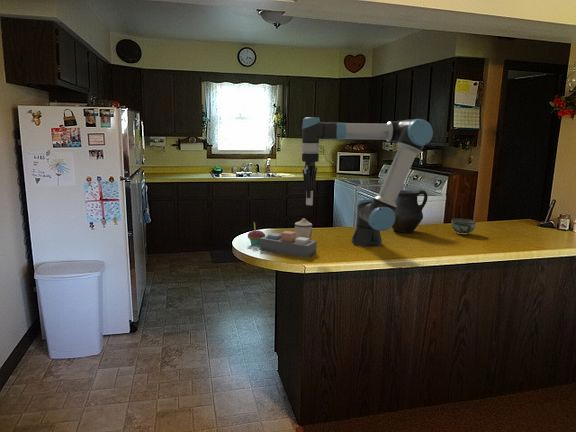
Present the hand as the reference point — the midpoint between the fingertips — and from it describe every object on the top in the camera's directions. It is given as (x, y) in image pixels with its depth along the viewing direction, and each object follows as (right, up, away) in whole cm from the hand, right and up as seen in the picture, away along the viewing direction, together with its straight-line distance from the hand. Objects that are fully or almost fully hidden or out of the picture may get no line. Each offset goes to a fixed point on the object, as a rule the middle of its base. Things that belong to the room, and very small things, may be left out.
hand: (309, 204), depth 201 cm
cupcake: (-25, -19, +11) cm, 34 cm away
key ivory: (-3, -20, -2) cm, 21 cm away
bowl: (+91, -16, +54) cm, 107 cm away
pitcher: (+58, -14, +55) cm, 82 cm away
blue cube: (-16, -19, +4) cm, 25 cm away
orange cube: (-10, -17, +1) cm, 20 cm away
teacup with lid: (-3, -18, +24) cm, 30 cm away
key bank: (-10, -21, +2) cm, 24 cm away
